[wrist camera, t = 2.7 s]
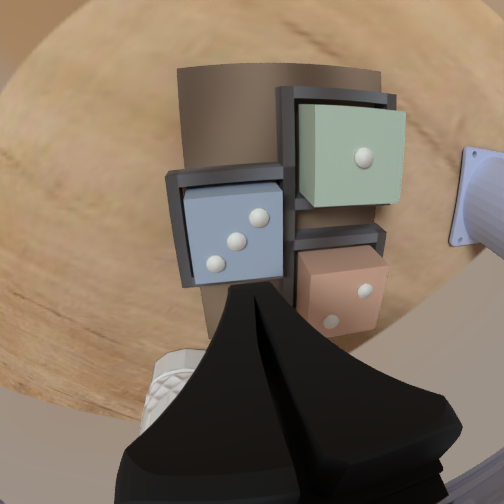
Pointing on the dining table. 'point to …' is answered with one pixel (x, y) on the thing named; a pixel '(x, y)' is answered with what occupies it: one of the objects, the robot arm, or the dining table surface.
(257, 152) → the board
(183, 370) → the white cup
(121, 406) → the dining table surface
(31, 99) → the dining table surface
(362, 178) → the tile one
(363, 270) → the tile two
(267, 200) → the tile three
